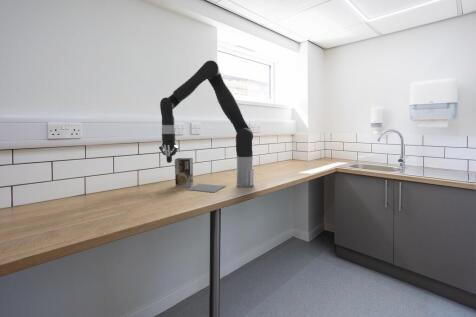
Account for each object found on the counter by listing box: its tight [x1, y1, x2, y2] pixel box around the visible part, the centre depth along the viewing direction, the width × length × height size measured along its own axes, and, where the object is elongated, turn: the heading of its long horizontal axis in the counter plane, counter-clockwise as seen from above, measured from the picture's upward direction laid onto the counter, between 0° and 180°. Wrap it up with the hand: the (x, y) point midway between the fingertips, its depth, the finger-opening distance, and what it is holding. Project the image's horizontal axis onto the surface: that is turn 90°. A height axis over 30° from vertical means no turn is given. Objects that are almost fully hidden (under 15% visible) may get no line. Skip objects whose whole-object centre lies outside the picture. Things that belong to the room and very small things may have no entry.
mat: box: [185, 183, 227, 193], centre depth 147 cm, size 18×15×1 cm
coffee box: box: [174, 157, 194, 188], centre depth 151 cm, size 9×6×16 cm
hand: (169, 162), depth 154 cm, fingers closed
